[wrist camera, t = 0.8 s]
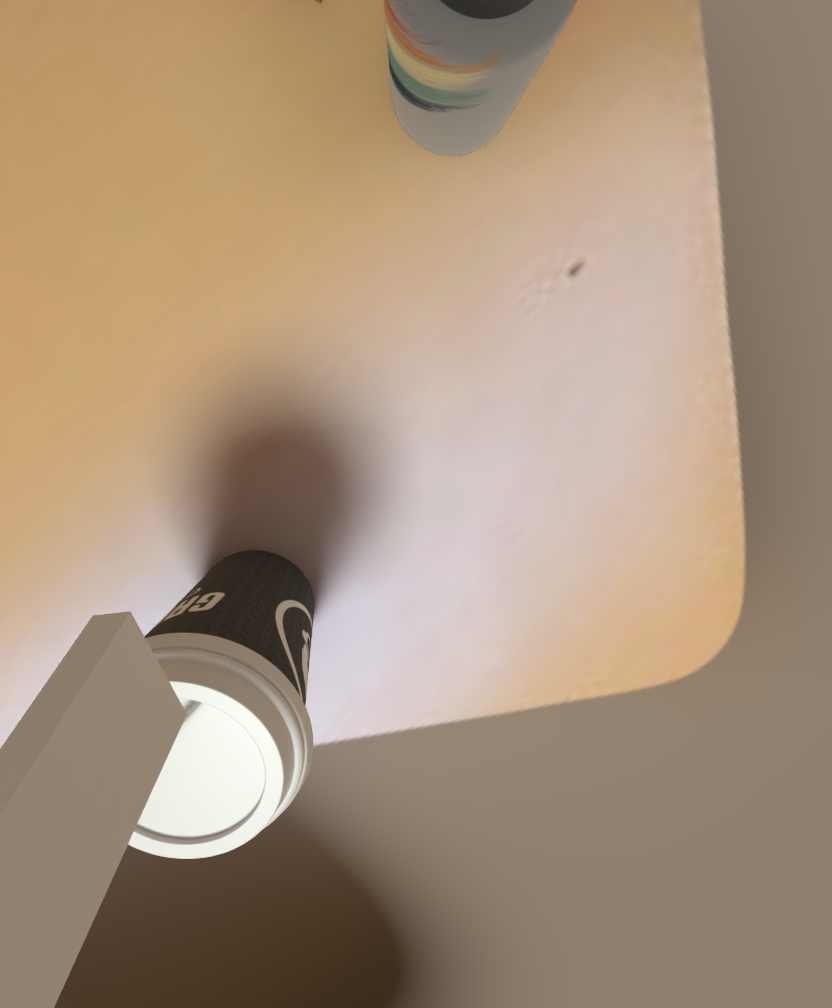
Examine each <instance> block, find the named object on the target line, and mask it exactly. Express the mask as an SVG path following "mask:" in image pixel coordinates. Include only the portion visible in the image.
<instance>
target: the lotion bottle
mask: <svg viewBox="0 0 832 1008" xmlns="http://www.w3.org/2000/svg"><path fill="white" fill-rule="evenodd" d="M576 2H577V0H384V4H385V17H386V30H387V43H388V56H389V69H390V82H391V92H392V99H393V104H394V108H395V111H396V114H397V117H398V119H399V121H400V123H401V125H402V127H403V128H404V130H405V131H406V133H407V134H408V135H409V136H410V137H411V139H412V140H413V141H415V142H416V143H417V144H418V145H419V146H421V147H422V148H424V149H426V150H428V151H430V152H432V153H435V154H438V155H443V156H460V155H465V154H468V153H471V152H474V151H476V150H478V149H480V148H481V147H483V146H484V145H486V144H487V143H488V142H489V141H490V140H492V139H493V138H494V137H495V136H496V134H497V133H498V132H499V131H500V129H501V128H502V127H503V125H504V124H505V122H506V121H507V119H508V118H509V116H510V114H511V113H512V111H513V110H514V108H515V106H516V105H517V103H518V101H519V100H520V98H521V96H522V95H523V93H524V92H525V90H526V88H527V87H528V85H529V83H530V82H531V80H532V78H533V77H534V75H535V74H536V72H537V70H538V69H539V67H540V65H541V64H542V62H543V60H544V59H545V57H546V55H547V54H548V52H549V51H550V49H551V47H552V46H553V44H554V42H555V41H556V39H557V37H558V36H559V34H560V32H561V31H562V29H563V27H564V25H565V24H566V22H567V20H568V18H569V16H570V14H571V13H572V11H573V9H574V7H575V4H576Z"/></svg>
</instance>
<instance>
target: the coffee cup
mask: <svg viewBox="0 0 832 1008" xmlns="http://www.w3.org/2000/svg"><path fill="white" fill-rule="evenodd" d="M313 616H314V598H313V593H312V590H311V587H310V585H309V583H308V581H307V579H306V578H305V576H304V575H303V574H302V572H301V571H300V570H299V569H298V568H297V567H296V566H295V565H293V564H292V563H291V562H289V561H288V560H286V559H284V558H283V557H280V556H278V555H275V554H272V553H269V552H264V551H245V552H240V553H236V554H234V555H231V556H229V557H227V558H225V559H223V560H222V561H221V562H219V563H218V564H217V565H216V566H215V567H214V568H213V569H212V570H211V571H210V572H209V573H208V574H207V575H206V576H205V577H204V578H203V579H202V580H201V581H200V582H199V583H198V584H197V585H196V586H195V587H194V588H193V589H192V590H191V591H190V592H189V593H188V594H187V595H186V596H185V597H184V598H183V599H182V600H181V601H180V602H179V603H178V604H177V605H176V606H175V607H174V608H173V609H172V610H171V611H170V612H169V613H168V614H167V615H166V616H165V617H164V618H163V619H162V620H161V621H160V622H159V623H158V624H157V625H156V626H155V627H154V628H153V629H152V630H151V631H150V632H149V633H148V634H147V635H146V636H145V639H146V641H147V643H148V644H149V646H150V648H151V650H152V652H153V653H154V655H155V657H156V659H157V661H158V662H159V664H160V666H161V668H162V670H163V672H164V673H165V675H166V677H167V679H168V681H169V682H170V684H171V686H172V688H173V690H174V691H175V693H176V695H177V697H178V699H179V700H180V702H181V704H182V706H183V708H184V709H185V711H186V713H187V715H186V717H185V720H184V722H183V724H182V726H181V728H180V731H179V733H178V735H177V737H176V739H175V742H174V744H173V746H172V748H171V750H170V753H169V755H168V757H167V759H166V761H165V764H164V766H163V768H162V770H161V772H160V775H159V777H158V779H157V781H156V783H155V786H154V788H153V790H152V792H151V794H150V797H149V799H148V801H147V803H146V806H145V808H144V810H143V812H142V814H141V817H140V819H139V821H138V823H137V825H136V828H135V830H134V832H133V834H132V836H131V839H130V841H129V843H128V845H130V846H132V847H134V848H137V849H139V850H142V851H145V852H148V853H151V854H155V855H159V856H163V857H170V858H182V859H193V858H204V857H209V856H214V855H218V854H222V853H225V852H228V851H230V850H232V849H235V848H237V847H239V846H241V845H243V844H244V843H246V842H247V841H249V840H250V839H252V838H253V837H254V836H255V835H257V834H258V833H259V832H260V831H261V830H262V829H264V828H265V827H266V826H268V825H269V824H270V823H272V822H273V821H274V820H275V819H276V818H277V817H278V816H279V815H280V814H281V813H282V812H283V811H284V810H285V809H286V808H287V807H288V806H289V804H290V803H291V802H292V800H293V799H294V797H295V796H296V794H297V793H298V791H299V790H300V788H301V786H302V785H303V783H304V781H305V779H306V776H307V774H308V771H309V768H310V764H311V760H312V754H313V733H312V727H311V722H310V718H309V715H308V712H307V709H306V707H305V704H306V692H307V681H308V669H309V658H310V648H311V637H312V626H313Z"/></svg>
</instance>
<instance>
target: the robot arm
mask: <svg viewBox="0 0 832 1008" xmlns="http://www.w3.org/2000/svg"><path fill="white" fill-rule="evenodd" d="M186 715H187V713H186V711H185V709H184V708H183V706H182V704H181V702H180V700H179V699H178V697H177V695H176V693H175V691H174V690H173V688H172V686H171V684H170V682H169V681H168V679H167V677H166V675H165V673H164V672H163V670H162V668H161V666H160V664H159V662H158V661H157V659H156V657H155V655H154V653H153V652H152V650H151V648H150V646H149V644H148V643H147V641H146V639H145V637H144V635H143V634H142V632H141V630H140V628H139V626H138V625H137V623H136V621H135V619H134V617H133V615H132V614H131V612H122V613H113V614H104V615H95V616H92V618H91V619H90V621H89V622H88V624H87V625H86V627H85V628H84V629H83V631H82V632H81V634H80V635H79V637H78V638H77V639H76V641H75V642H74V644H73V645H72V647H71V648H70V650H69V651H68V652H67V654H66V655H65V657H64V658H63V660H62V661H61V663H60V664H59V665H58V667H57V668H56V670H55V671H54V673H53V674H52V675H51V677H50V678H49V680H48V681H47V683H46V684H45V686H44V687H43V688H42V690H41V691H40V693H39V694H38V696H37V697H36V698H35V700H34V701H33V703H32V704H31V706H30V707H29V709H28V710H27V711H26V713H25V714H24V716H23V717H22V719H21V720H20V721H19V723H18V724H17V726H16V727H15V729H14V730H13V732H12V733H11V734H10V736H9V737H8V739H7V740H6V742H5V743H4V745H3V746H2V747H1V749H0V1008H54V1006H55V1004H56V1001H57V999H58V997H59V995H60V993H61V991H62V988H63V986H64V984H65V982H66V980H67V977H68V975H69V973H70V971H71V968H72V966H73V964H74V962H75V960H76V957H77V955H78V953H79V951H80V949H81V947H82V944H83V942H84V940H85V938H86V936H87V933H88V931H89V929H90V926H91V925H92V922H93V920H94V918H95V916H96V913H97V911H98V909H99V907H100V904H101V902H102V900H103V898H104V896H105V894H106V891H107V889H108V887H109V885H110V883H111V880H112V878H113V876H114V874H115V872H116V869H117V867H118V865H119V863H120V861H121V858H122V856H123V854H124V852H125V850H126V847H127V845H128V843H129V841H130V839H131V836H132V834H133V832H134V830H135V828H136V825H137V823H138V821H139V819H140V817H141V814H142V812H143V810H144V808H145V806H146V803H147V801H148V799H149V797H150V794H151V792H152V790H153V788H154V786H155V783H156V781H157V779H158V777H159V775H160V772H161V770H162V768H163V766H164V764H165V761H166V759H167V757H168V755H169V753H170V750H171V748H172V746H173V744H174V742H175V739H176V737H177V735H178V733H179V731H180V728H181V726H182V724H183V722H184V720H185V717H186Z"/></svg>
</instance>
